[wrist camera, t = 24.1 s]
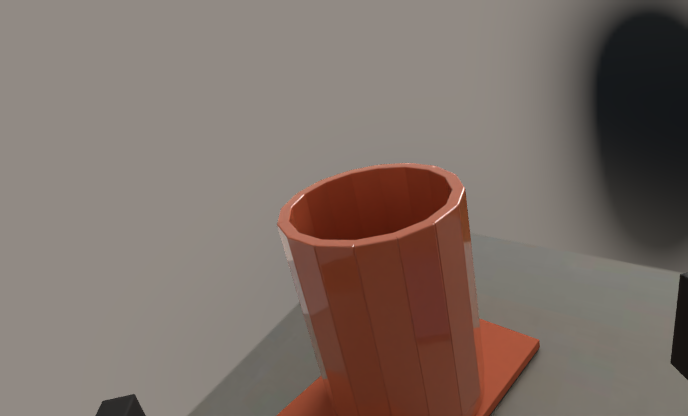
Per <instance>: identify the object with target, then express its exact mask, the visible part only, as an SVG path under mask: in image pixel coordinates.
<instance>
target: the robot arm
mask: <svg viewBox="0 0 688 416" xmlns="http://www.w3.org/2000/svg"><path fill="white" fill-rule="evenodd" d="M671 364H672V365H673V366H674V367H675V368H676V369H677V370H678V371H679V372H680V373H681V374H682V375H683V376H684V377H685V378H686V379H687V380H688V272H687V273H683V274H680V282H679V291H678V300H677V309H676V318H675V327H674V336H673V345H672V354H671ZM96 416H145V414H144V412H143V410H142V408H141V406H140V404H139V402H138V400H137V398H136V396H135V395H134V394H133V395H128V396H124V397H119V398H115V399H110V400H105V401H103V402H102V404H101V406H100V408H99V410H98V412H97V414H96Z"/></svg>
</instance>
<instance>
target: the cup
mask: <svg viewBox="0 0 688 416" xmlns="http://www.w3.org/2000/svg"><path fill="white" fill-rule="evenodd" d="M467 211H468V210H467V201H466V192H465V187H464V186H463V184H462V183H461V182H460V180H459V178H458V177H457V175H456V174H454V173H451V172H449V171H447V170H444V169H442V168H440V167H437V166H432V165H423V164H415V163H401V164H400V163H399V164H381V165H375V166H370V167H365V168H360V169H354V170H350V171H346V172H343V173H340V174H337V175H334V176H332V177H329V178H326V179H323V180H321V181H318V182H316V183H315V184H313V185H311V186H309V187H307V188H305V189H304V190H302V191H300V192H298V193H297V194H295V195H294V196H293V197H292V198H291V199H290V200H289V201H288V202H287V203H286V204H285V205H284V206H283V207H282V208H281V211H280V214H279V218H278V222H277V226H278V230H279V233H280V237H281V240H282V244H283V247H284V250H285V254H286V257H287V261H288V264H289V267H290V271H291V274H292V278H293V281H294V284H295V288H296V291H297V294H298V298H299V301H300V305H301V308H302V312H303V315H304V318H305V322H306V325H307V329H308V332H309V335H310V339H311V342H312V346H313V349H314V352H315V356H316V359H317V362H318V366H319V369H320V373H321V376H322V379H323V383H324V386H325V390H326V393H327V396H328V398H329V400H330V402H331V405H332V409H333V411H334V414H335V416H475V415H476V413H477V412H478V410H479V408H480V406H481V403H482V400H483V396H484V390H485V382H484V371H485V368H484V359H483V350H482V340H481V331H480V322H479V312H478V303H477V294H476V285H475V275H474V266H473V257H472V247H471V238H470V229H469V221H468V212H467Z"/></svg>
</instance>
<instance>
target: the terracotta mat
mask: <svg viewBox="0 0 688 416" xmlns="http://www.w3.org/2000/svg"><path fill="white" fill-rule="evenodd" d="M479 322H480V331H481V340H482V350H483V359H484V368H485V371H484V382H485V390H484V396H483V400H482V403H481V406H480V408H479V410H478V412H477V413H476V415H475V416H489V415H490V414H491V413H492V411H493V410H494V409H495V407H496V406H497V404H498V403H499V402H500V400H501V399H502V398H503V396H504V395H505V394H506V392H507V391H508V390H509V388H510V387H511V385H512V384H513V383H514V381H515V380H516V379H517V377H518V376H519V375H520V373H521V372H522V370H523V369H524V368H525V366H526V365H527V364H528V362H529V361H530V360H531V358H532V357H533V356H534V354H535V353H536V351H537V350H538V349H539V347H540V345H539V340H538V339H535V338H532V337H529V336H527V335H524V334H521V333H518V332H515V331H512V330H510V329H507V328H504V327H501V326H498V325H496V324H493V323H490V322H487V321H484V320H482V319H479ZM277 416H335V414H334V411H333V409H332V405H331V402H330V400H329V398H328V396H327V393H326V390H325V386H324V383H323V379H322V376H320V377H319V378H318V379H317V380H316V381H315V382H314V383H312V384H311V385H310V386H309V387H308V388H307V389H306V390H305V391H304V392H302V393H301V394H300V395H299V396H298V397H297V398H296V399H295V400H293V401H292V402H291V403H290V404H289V405H288V406H287V407H286V408H284V409H283V410H282V411H281V412H280V413H279V414H278V415H277Z"/></svg>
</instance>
